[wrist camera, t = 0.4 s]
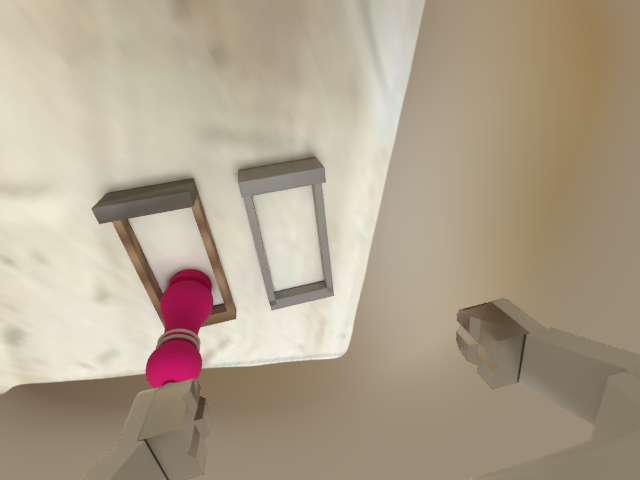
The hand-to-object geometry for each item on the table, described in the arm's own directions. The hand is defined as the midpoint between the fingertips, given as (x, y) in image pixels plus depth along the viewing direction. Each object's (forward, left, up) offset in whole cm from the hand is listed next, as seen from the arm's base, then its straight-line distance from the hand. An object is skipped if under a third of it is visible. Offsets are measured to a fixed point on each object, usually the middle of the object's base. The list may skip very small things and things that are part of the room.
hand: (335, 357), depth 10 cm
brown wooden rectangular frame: (+17, -15, -38) cm, 44 cm away
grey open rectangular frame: (+17, +2, -38) cm, 41 cm away
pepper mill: (+22, -15, -38) cm, 46 cm away
